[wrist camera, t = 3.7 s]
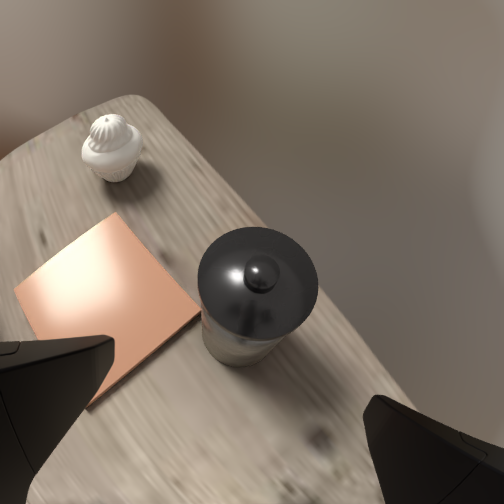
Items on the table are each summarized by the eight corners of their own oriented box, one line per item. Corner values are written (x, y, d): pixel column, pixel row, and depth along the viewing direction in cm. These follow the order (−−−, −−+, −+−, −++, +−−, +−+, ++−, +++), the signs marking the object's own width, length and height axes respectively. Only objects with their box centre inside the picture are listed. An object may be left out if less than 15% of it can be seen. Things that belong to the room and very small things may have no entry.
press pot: (238, 384, 21) (265, 361, 12) (183, 328, 22) (170, 265, 13) (291, 332, 23) (346, 274, 14) (238, 282, 25) (260, 199, 16)
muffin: (136, 144, 31) (129, 92, 25) (154, 179, 29) (148, 123, 23) (85, 164, 29) (69, 114, 23) (97, 203, 27) (78, 149, 21)
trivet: (85, 408, 18) (82, 408, 17) (16, 292, 21) (13, 289, 20) (201, 312, 23) (201, 309, 23) (116, 215, 26) (115, 211, 26)
